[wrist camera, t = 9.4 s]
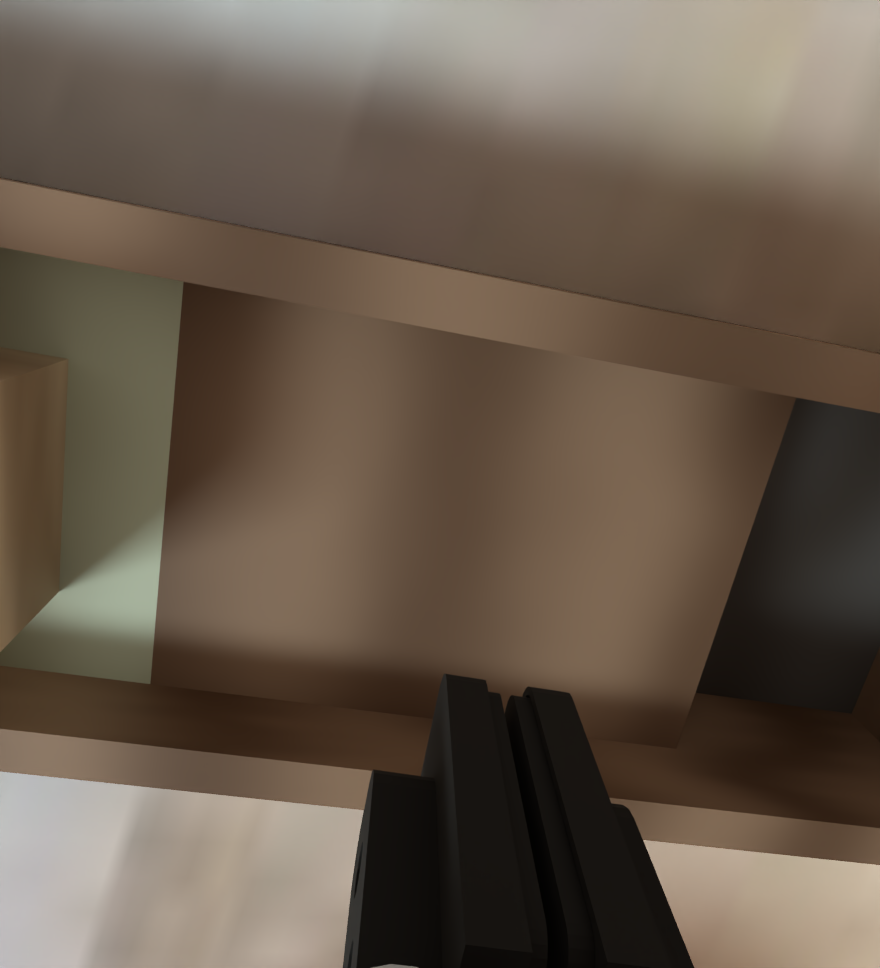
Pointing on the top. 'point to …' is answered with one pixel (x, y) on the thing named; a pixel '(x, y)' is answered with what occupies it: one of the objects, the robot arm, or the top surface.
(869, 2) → the top surface
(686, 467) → the tray
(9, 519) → the maple block
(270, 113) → the top surface
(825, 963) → the top surface
